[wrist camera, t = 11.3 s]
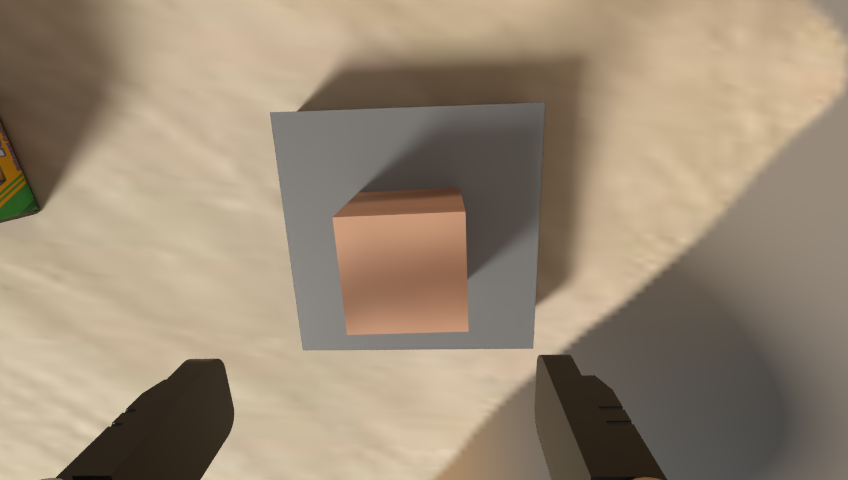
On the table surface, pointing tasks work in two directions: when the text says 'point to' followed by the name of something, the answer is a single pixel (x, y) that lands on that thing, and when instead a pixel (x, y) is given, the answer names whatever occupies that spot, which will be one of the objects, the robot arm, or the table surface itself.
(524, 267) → the charcoal base
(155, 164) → the table surface
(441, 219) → the terracotta cube
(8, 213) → the chalk box
